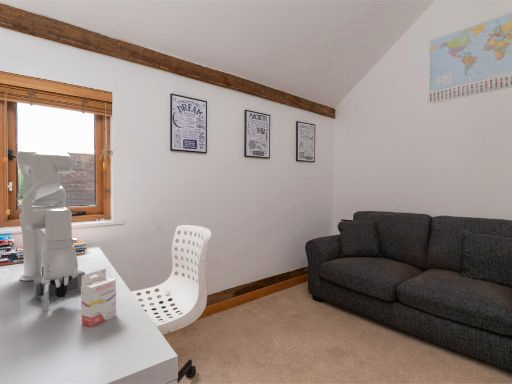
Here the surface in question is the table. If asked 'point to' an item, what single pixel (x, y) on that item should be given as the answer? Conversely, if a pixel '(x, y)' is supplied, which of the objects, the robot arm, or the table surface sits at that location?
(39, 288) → the grey knobbed panel
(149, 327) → the table surface
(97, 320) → the ink cartridge box
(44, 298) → the side door
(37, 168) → the robot arm
